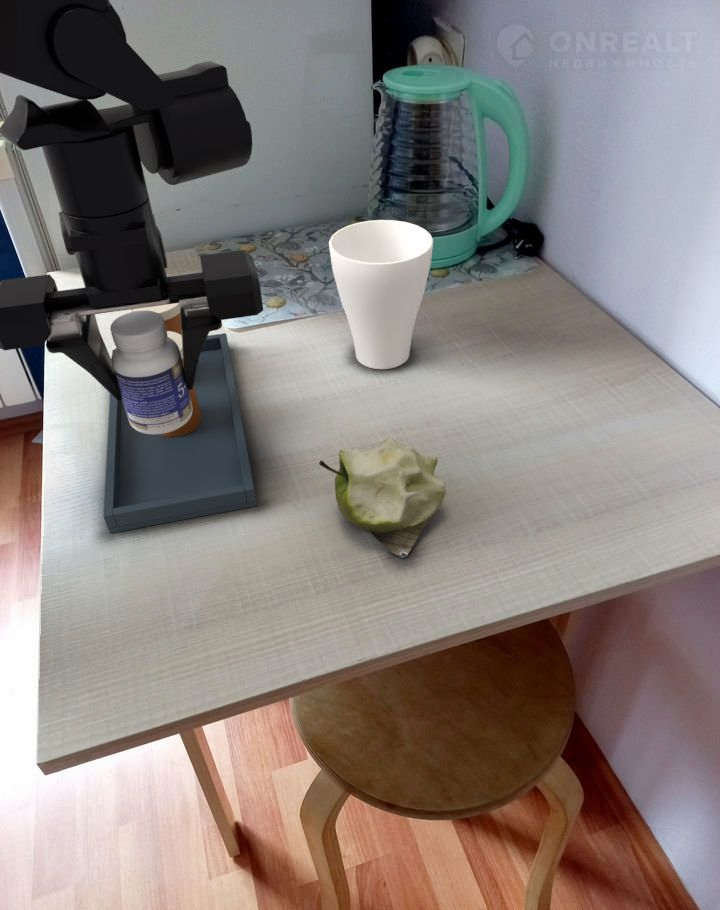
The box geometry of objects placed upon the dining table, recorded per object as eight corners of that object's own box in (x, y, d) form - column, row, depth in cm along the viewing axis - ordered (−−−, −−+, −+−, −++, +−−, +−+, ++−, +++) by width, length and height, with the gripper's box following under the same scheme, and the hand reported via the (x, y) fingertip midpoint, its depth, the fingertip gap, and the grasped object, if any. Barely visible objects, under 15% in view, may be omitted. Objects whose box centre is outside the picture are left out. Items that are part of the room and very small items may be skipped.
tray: (109, 533, 60) (103, 516, 59) (117, 365, 80) (112, 349, 78) (257, 506, 62) (254, 488, 61) (228, 348, 82) (226, 332, 80)
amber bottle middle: (152, 442, 68) (129, 363, 62) (151, 411, 72) (129, 335, 66) (204, 433, 69) (186, 355, 63) (200, 403, 73) (183, 327, 67)
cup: (380, 393, 74) (378, 275, 65) (317, 355, 80) (307, 241, 71) (448, 354, 79) (455, 239, 70) (383, 321, 85) (382, 211, 76)
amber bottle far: (151, 392, 74) (130, 316, 69) (150, 366, 78) (130, 293, 72) (198, 384, 75) (182, 309, 69) (196, 359, 79) (180, 286, 73)
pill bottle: (200, 426, 58) (178, 331, 52) (135, 443, 56) (106, 348, 51) (186, 391, 62) (165, 300, 56) (125, 407, 60) (97, 314, 54)
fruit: (321, 548, 60) (301, 469, 56) (371, 487, 66) (357, 412, 62) (420, 570, 55) (407, 486, 51) (463, 502, 62) (455, 423, 58)
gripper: (233, 149, 55) (258, 326, 65) (-22, 176, 52) (46, 356, 62) (249, 202, 46) (275, 395, 57) (-53, 237, 43) (31, 434, 54)
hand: (155, 392), depth 57 cm, fingers closed on pill bottle, 5 cm apart
